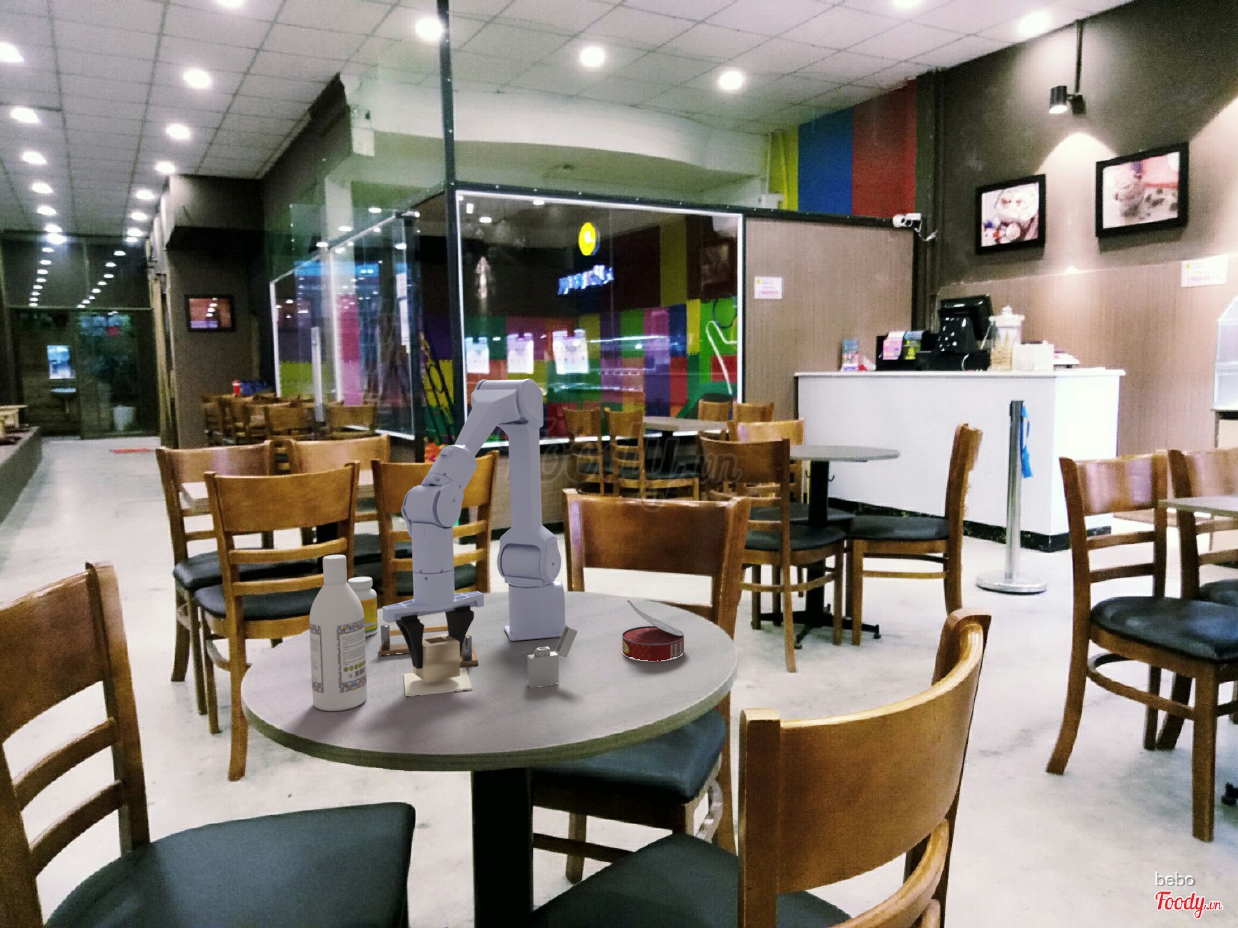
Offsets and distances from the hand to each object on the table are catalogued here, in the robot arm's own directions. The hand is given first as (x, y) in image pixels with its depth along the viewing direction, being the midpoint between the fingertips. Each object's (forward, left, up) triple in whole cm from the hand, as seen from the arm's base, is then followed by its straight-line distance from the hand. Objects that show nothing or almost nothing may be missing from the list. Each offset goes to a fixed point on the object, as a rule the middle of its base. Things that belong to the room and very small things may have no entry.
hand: (436, 662), depth 120 cm
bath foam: (+13, +4, -3) cm, 14 cm away
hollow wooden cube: (0, 0, -2) cm, 2 cm away
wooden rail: (+1, -12, -3) cm, 12 cm away
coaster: (0, 0, -3) cm, 3 cm away
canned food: (-34, -4, -3) cm, 34 cm away
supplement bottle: (+11, -29, -3) cm, 31 cm away
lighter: (-16, +5, -3) cm, 17 cm away
